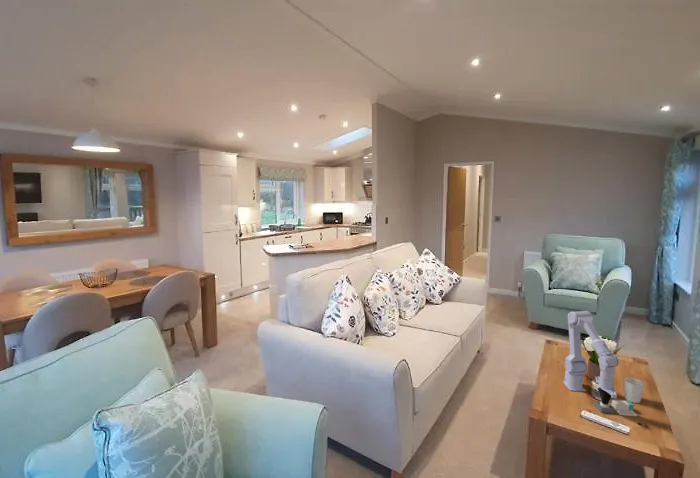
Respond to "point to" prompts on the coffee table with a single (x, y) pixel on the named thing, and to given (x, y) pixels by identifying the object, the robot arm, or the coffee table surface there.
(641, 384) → the white cup
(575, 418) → the coffee table surface
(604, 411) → the button housing
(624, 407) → the eraser
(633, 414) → the paper
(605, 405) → the button
